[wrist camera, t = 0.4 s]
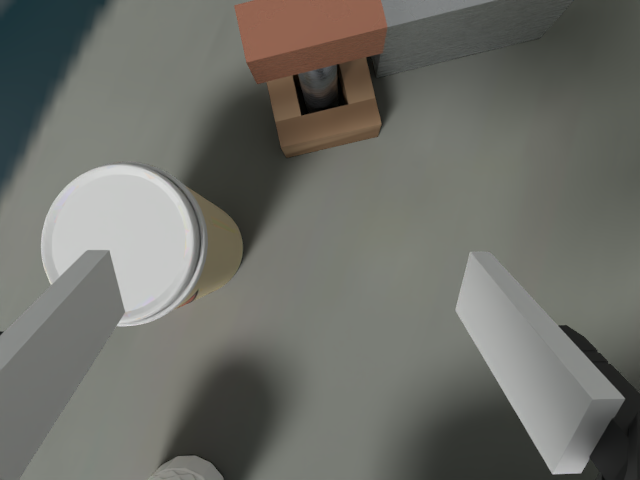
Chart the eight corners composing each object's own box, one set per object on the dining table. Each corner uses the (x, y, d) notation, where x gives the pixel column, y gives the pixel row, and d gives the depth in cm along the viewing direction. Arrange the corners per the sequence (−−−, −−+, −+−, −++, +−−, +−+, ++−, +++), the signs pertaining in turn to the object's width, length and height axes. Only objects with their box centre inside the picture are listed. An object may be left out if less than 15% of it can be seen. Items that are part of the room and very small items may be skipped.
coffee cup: (137, 292, 33) (18, 310, 21) (159, 186, 33) (54, 145, 21) (242, 312, 32) (181, 344, 20) (262, 204, 32) (215, 172, 20)
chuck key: (371, 110, 32) (387, 27, 21) (281, 132, 33) (246, 62, 21) (363, 73, 32) (373, -31, 21) (272, 95, 33) (234, 5, 21)
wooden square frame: (378, 136, 32) (381, 123, 29) (286, 157, 32) (280, 147, 29) (357, 47, 33) (358, 26, 30) (267, 69, 33) (259, 51, 30)
